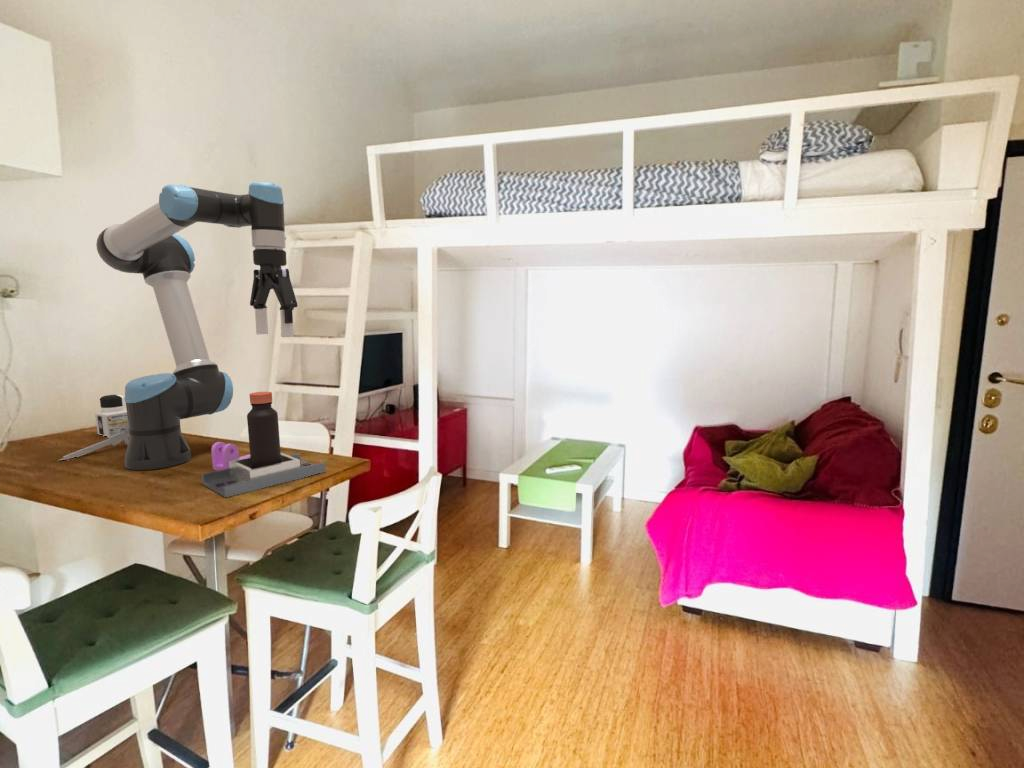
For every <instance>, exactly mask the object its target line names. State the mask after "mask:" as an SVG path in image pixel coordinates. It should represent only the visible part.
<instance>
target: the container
mask: <svg viewBox="0 0 1024 768" xmlns="http://www.w3.org/2000/svg"><path fill="white" fill-rule="evenodd" d="M99 404H100V410H101V411H96V412H94V415H95V423H96V424H95V425H96V429H97V435H98V434H99V435H103V436H102V437H104V436H107V437H106V438H108V437H111V436H113V435H116V434H118V433H121V432H125V429H124V428H127V429H128V426H129V425H128V417H127V409H126V402H125V395H122V394H109V395H107V394H106V395H103V396H101V397H100V398H99ZM99 435H98V436H99Z"/></svg>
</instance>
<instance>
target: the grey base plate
mask: <svg viewBox="0 0 1024 768" xmlns="http://www.w3.org/2000/svg"><path fill="white" fill-rule="evenodd" d="M325 471H326V463H325V462H322V461H321V462H318V463H312V462H309V461H306V460H303V459H301V453H299V452H296V453H292V454H286V453H283V452H281V463H277V464H273V465H268V466H264V467H259V468H255V469H251V458H250V457H246V458H242V459H237V460H232V461H229V468H227V469H223V470H214V471H210V472H204V473H201V483H202V485H203V486H205V487H206V488H209V489H210V490H211V491H213V492H214V493H217V494H218V493H219V494H218V495H220V496H222V497H223V496H224V498H225V497H227V498H230V496H231V497H235V496H239V495H242V493H243V494H246V492H247V493H250V492H254V491H258V490H262V488H263V489H266V488H270V487H274V486H277V484H278V485H282V484H285V482H286V483H290V482H294V481H297V479H298V480H301V478H302V479H305V478H304V477H306V478H308V476H310V477H312V476H311V475H314V476H316V475H315V474H318V473H322V472H325ZM322 474H323V473H322ZM318 475H319V474H318ZM293 480H294V481H293ZM281 483H282V484H281ZM273 485H274V486H273ZM269 486H270V487H269ZM265 487H266V488H265ZM238 494H239V495H238ZM234 495H235V496H234Z"/></svg>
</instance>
